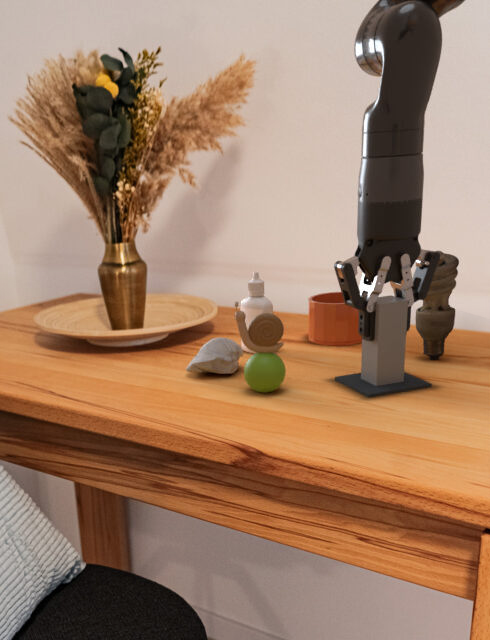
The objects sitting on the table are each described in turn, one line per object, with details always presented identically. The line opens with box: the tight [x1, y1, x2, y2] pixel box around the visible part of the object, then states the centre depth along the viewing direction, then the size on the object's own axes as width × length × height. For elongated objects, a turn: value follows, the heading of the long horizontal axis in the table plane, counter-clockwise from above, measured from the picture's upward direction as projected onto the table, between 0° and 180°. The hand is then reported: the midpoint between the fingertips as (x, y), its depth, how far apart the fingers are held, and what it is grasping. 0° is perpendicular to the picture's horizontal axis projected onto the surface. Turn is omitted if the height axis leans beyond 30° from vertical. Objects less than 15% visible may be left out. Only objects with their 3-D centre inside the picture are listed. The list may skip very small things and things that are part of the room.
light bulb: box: [415, 250, 460, 361], centre depth 116 cm, size 6×6×15 cm
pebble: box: [185, 336, 244, 375], centre depth 121 cm, size 9×8×5 cm
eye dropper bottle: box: [239, 271, 274, 354], centre depth 128 cm, size 4×6×12 cm
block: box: [360, 295, 408, 386], centre depth 108 cm, size 4×4×10 cm
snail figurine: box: [234, 301, 287, 394], centre depth 109 cm, size 5×6×12 cm
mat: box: [334, 371, 432, 399], centre depth 111 cm, size 9×9×1 cm
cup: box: [307, 291, 362, 346], centre depth 133 cm, size 9×9×6 cm
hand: (384, 336), depth 108 cm, fingers closed on block, 4 cm apart
